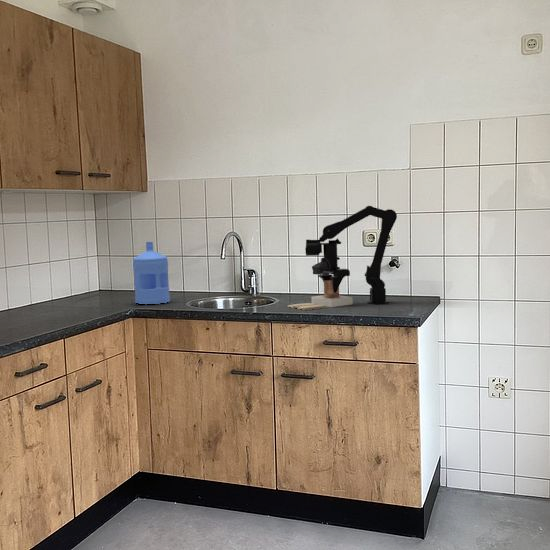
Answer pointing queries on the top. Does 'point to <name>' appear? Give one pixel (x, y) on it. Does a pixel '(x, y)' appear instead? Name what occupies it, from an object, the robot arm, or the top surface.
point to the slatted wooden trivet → (307, 306)
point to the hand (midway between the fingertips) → (331, 292)
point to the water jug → (151, 277)
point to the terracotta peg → (329, 290)
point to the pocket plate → (332, 301)
